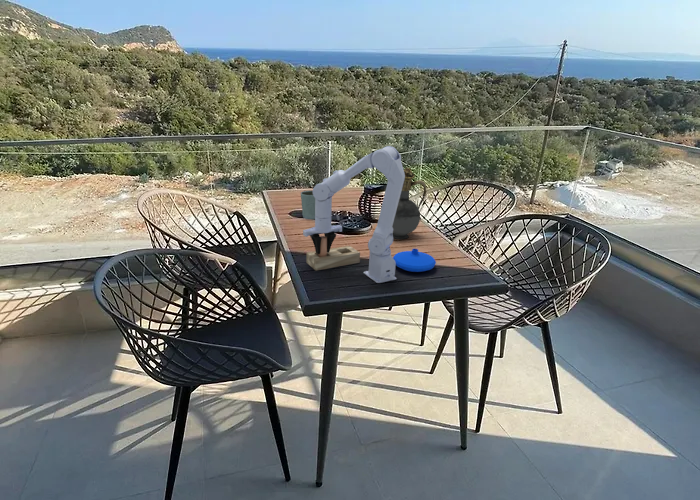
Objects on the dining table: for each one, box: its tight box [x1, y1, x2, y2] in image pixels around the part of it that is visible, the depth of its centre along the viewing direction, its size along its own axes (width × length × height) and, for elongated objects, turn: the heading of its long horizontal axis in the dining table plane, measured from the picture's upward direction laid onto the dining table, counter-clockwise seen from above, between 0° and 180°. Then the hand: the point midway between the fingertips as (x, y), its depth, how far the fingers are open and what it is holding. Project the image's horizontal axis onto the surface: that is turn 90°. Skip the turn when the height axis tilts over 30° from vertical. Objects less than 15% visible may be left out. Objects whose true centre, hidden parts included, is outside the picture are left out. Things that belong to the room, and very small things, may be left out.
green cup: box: [300, 190, 315, 220], centre depth 218 cm, size 10×10×12 cm
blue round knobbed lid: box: [392, 248, 437, 273], centre depth 165 cm, size 16×16×7 cm
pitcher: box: [392, 167, 428, 240], centre depth 193 cm, size 11×19×30 cm, turn 112°
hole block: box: [306, 245, 361, 271], centre depth 166 cm, size 8×18×4 cm, turn 119°
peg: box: [318, 235, 327, 257], centre depth 162 cm, size 3×3×9 cm
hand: (322, 252), depth 163 cm, fingers open, 3 cm apart
